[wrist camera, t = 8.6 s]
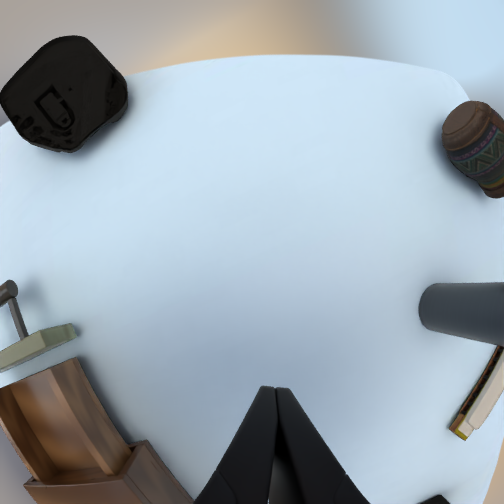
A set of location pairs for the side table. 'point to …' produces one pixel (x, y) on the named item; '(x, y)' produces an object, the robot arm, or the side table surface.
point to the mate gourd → (477, 145)
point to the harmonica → (481, 397)
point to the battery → (437, 500)
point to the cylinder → (465, 310)
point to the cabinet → (117, 484)
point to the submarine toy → (64, 95)
